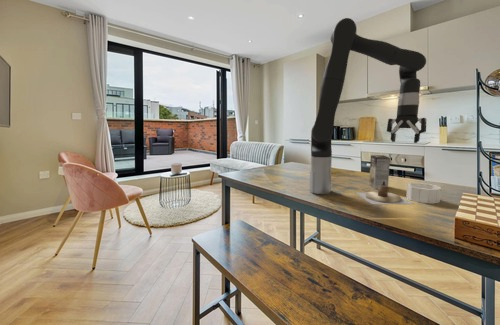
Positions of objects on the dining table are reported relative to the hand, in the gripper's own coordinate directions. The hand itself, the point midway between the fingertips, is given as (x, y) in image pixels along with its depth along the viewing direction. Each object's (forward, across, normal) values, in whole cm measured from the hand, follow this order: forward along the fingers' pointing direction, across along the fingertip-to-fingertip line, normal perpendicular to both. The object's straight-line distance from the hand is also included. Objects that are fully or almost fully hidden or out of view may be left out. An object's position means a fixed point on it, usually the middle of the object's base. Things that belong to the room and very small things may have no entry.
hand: (404, 142), depth 102 cm
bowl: (+23, +10, -4) cm, 26 cm away
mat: (+24, -2, -14) cm, 27 cm away
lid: (+23, -2, -14) cm, 27 cm away
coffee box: (+24, -10, +4) cm, 26 cm away
